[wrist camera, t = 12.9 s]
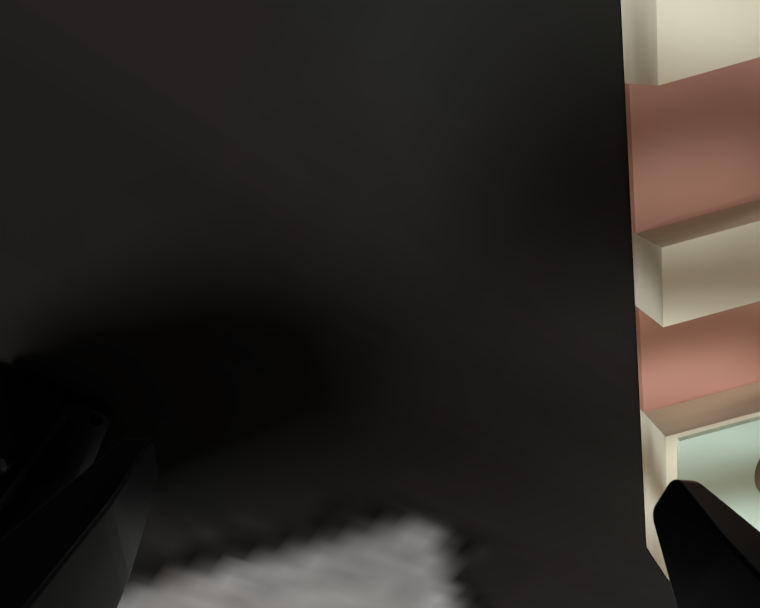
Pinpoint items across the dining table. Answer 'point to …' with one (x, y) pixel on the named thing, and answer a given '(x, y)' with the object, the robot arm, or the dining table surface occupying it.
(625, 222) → the dining table surface
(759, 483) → the walnut cylinder
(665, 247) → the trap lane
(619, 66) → the dining table surface
